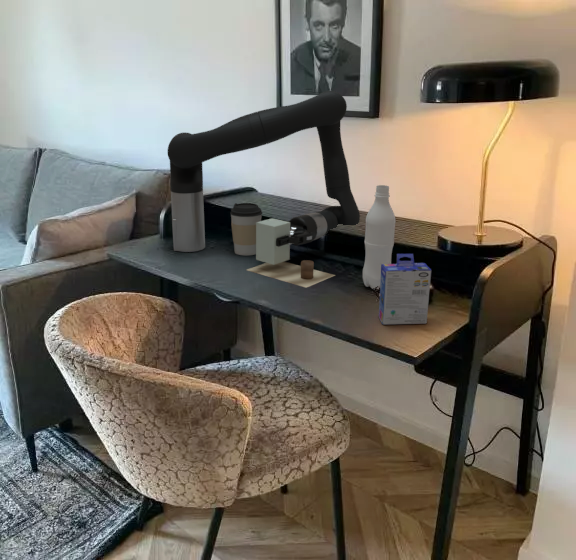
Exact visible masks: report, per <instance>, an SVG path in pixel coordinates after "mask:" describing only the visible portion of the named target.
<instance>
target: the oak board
mask: <svg viewBox="0 0 576 560" xmlns="http://www.w3.org/2000/svg"><path fill="white" fill-rule="evenodd" d="M314 264H315V263H314V261H313V260H310V259H309V260H307V259H306V260H305V259H304V260H301V262H300V265H298V264H295V263H291V262H287V261H284V262H281V263H278V264H275V265H273V264H269V263H266V262H264V263H262V264H259V265H256V266H254V267H250V268H247V269H246V271H247V272H251V273H255V274H258V275H261V276H265V277H269V278H271V279H276V280H278V281H281V282H286V283H289V284H291V285H292V284H293V285H295V286H299V287H303V288H309V287H312V286H314V285H317V284H318V283H320V282H323V281H326V280H327V279H330V278H333V277H336V274H332V273H328V272H325V271H321V270H317V269H314V268H315V267H314V266H315V265H314Z"/></svg>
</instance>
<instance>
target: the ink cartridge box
mask: <svg viewBox="0 0 576 560" xmlns="http://www.w3.org/2000/svg"><path fill="white" fill-rule="evenodd" d="M403 258H408V259H410V260H400V259H403ZM414 258H415V257H414V253H396V263H391V264H381V283H380V289H379V304H378V305H379V307H378V318H379V320H380V322H381V325H415V324H416V325H418V324H422V325H423V324H427V322H428V312H429V310H428V309H429V300H430V291H431V290H430V288H431V279H432V278H431V277H432V268H430V266H428V265H427V263H425V262H415V259H414Z"/></svg>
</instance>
